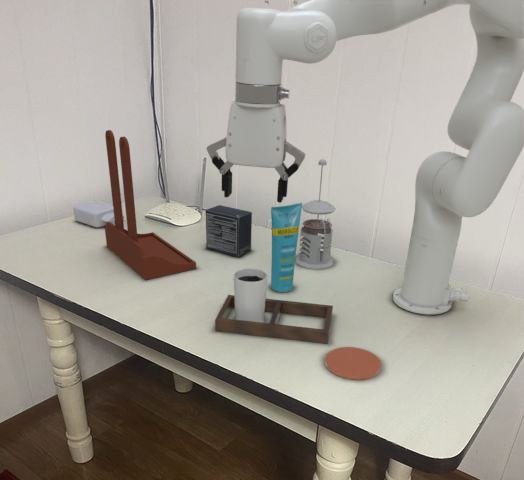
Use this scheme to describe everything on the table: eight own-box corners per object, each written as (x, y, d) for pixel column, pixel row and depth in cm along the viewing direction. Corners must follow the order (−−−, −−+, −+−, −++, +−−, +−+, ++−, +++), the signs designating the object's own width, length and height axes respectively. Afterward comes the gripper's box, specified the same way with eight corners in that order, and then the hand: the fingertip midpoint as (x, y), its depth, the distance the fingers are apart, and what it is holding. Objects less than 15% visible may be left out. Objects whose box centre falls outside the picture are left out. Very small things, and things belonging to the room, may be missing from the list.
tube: (274, 295, 125) (278, 210, 115) (262, 287, 128) (265, 203, 118) (301, 288, 128) (307, 205, 118) (289, 280, 132) (294, 199, 122)
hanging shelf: (196, 268, 136) (191, 138, 120) (145, 280, 129) (134, 144, 114) (153, 238, 153) (144, 120, 137) (107, 247, 146) (92, 124, 131)
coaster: (380, 353, 105) (381, 350, 105) (380, 383, 96) (381, 380, 96) (327, 347, 106) (327, 344, 106) (322, 376, 98) (323, 373, 97)
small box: (252, 250, 147) (253, 211, 142) (238, 258, 142) (238, 217, 137) (220, 242, 152) (219, 203, 147) (205, 249, 147) (204, 209, 142)
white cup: (239, 310, 118) (239, 266, 113) (270, 316, 116) (271, 271, 111) (228, 325, 112) (228, 279, 107) (260, 330, 111) (262, 284, 106)
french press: (324, 252, 148) (333, 153, 135) (343, 269, 138) (355, 165, 125) (289, 255, 145) (295, 155, 132) (306, 273, 136) (314, 167, 123)
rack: (331, 316, 117) (332, 305, 116) (327, 343, 107) (328, 332, 106) (228, 305, 120) (228, 294, 119) (215, 331, 110) (215, 319, 109)
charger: (109, 233, 155) (75, 221, 162) (135, 225, 161) (100, 214, 169) (107, 217, 152) (72, 205, 160) (133, 209, 159) (98, 198, 166)
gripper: (312, 96, 95) (303, 197, 104) (212, 89, 97) (212, 188, 106) (307, 101, 89) (298, 208, 98) (201, 94, 91) (202, 199, 100)
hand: (254, 197), depth 102 cm, fingers open, 9 cm apart
